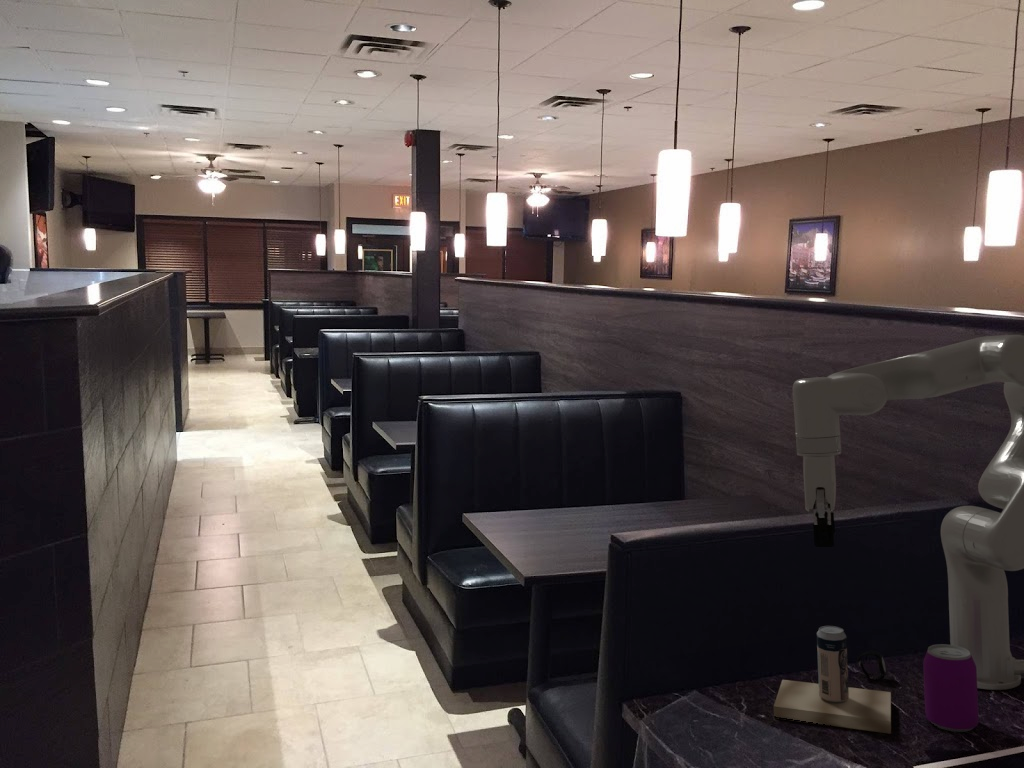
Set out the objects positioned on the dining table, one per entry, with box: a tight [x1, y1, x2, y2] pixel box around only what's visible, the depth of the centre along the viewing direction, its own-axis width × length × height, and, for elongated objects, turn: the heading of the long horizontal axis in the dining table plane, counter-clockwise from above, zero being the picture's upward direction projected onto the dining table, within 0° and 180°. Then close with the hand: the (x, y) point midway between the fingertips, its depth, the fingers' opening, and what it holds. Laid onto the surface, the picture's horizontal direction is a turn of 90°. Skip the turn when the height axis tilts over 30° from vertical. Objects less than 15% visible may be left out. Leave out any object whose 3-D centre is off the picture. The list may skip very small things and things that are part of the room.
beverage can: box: [922, 643, 979, 733], centre depth 131 cm, size 8×8×12 cm
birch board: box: [773, 679, 892, 735], centre depth 138 cm, size 18×12×2 cm, turn 65°
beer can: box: [816, 625, 849, 703], centre depth 138 cm, size 5×5×12 cm
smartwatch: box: [857, 650, 888, 680], centre depth 151 cm, size 4×5×5 cm
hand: (825, 539), depth 145 cm, fingers open, 9 cm apart
